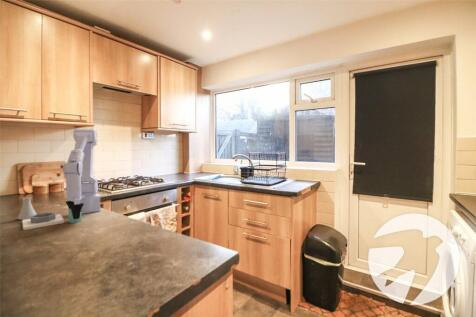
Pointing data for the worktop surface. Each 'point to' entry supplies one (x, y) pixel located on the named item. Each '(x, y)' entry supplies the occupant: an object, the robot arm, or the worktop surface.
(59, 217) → the mount
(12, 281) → the worktop surface
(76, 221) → the cap
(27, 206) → the flask
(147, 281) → the worktop surface
